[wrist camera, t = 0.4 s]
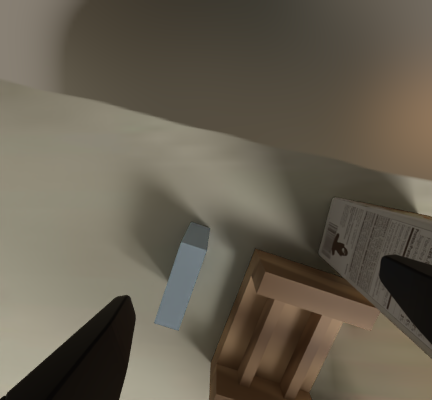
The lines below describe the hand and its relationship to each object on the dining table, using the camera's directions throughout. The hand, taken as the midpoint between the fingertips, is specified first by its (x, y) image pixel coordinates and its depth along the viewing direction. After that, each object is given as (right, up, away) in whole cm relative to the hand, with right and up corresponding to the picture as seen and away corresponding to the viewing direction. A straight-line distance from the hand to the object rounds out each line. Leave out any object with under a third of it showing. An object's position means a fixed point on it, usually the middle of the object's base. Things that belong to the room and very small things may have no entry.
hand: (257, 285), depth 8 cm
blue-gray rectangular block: (-4, -3, +15) cm, 16 cm away
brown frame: (+5, -10, +16) cm, 20 cm away
